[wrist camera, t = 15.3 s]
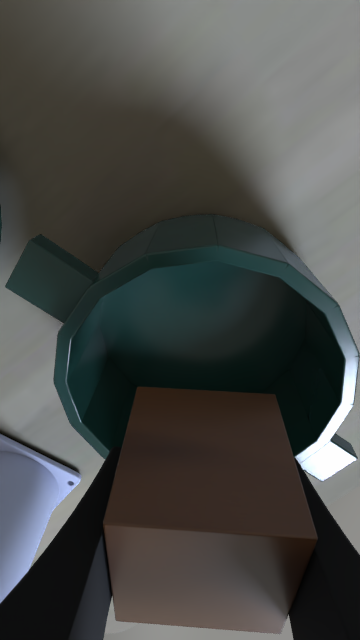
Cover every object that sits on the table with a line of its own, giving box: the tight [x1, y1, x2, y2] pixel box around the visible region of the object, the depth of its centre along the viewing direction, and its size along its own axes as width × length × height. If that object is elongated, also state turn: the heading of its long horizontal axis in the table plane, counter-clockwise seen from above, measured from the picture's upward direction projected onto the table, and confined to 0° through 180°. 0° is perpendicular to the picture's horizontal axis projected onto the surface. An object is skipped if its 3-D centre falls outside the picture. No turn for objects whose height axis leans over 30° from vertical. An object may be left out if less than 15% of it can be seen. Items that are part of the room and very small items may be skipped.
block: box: [103, 387, 318, 634], centre depth 10 cm, size 5×5×5 cm
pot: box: [5, 214, 360, 481], centre depth 17 cm, size 13×18×6 cm
